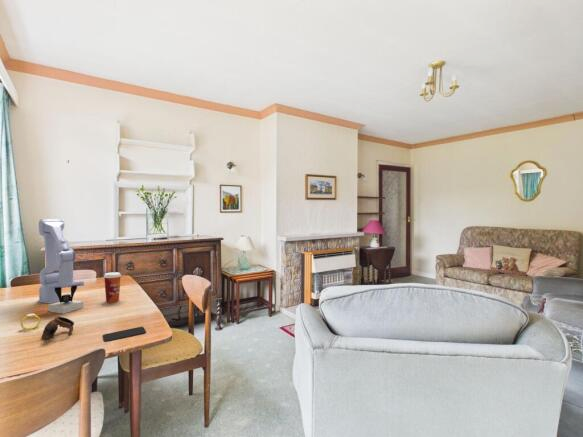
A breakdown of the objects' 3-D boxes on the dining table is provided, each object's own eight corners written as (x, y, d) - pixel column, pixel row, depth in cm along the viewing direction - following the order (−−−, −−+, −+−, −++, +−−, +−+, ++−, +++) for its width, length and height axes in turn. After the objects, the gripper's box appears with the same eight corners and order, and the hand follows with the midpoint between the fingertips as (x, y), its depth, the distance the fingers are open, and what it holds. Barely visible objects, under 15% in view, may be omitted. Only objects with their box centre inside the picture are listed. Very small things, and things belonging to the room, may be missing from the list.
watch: (39, 326, 131) (40, 312, 131) (39, 328, 129) (40, 314, 129) (20, 328, 127) (22, 314, 127) (20, 330, 125) (21, 316, 125)
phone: (102, 334, 123) (142, 326, 132) (102, 336, 123) (142, 327, 132) (104, 341, 117) (146, 332, 126) (104, 343, 117) (146, 334, 126)
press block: (48, 311, 148) (48, 305, 148) (68, 304, 158) (68, 299, 158) (63, 313, 145) (63, 307, 145) (83, 307, 155) (83, 301, 155)
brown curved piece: (46, 333, 125) (59, 314, 127) (68, 342, 126) (81, 323, 128) (29, 338, 113) (43, 316, 116) (54, 348, 114) (67, 327, 117)
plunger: (59, 309, 150) (59, 295, 150) (67, 307, 154) (67, 293, 154) (65, 310, 149) (65, 296, 149) (72, 308, 153) (72, 294, 153)
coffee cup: (113, 303, 161) (113, 275, 161) (100, 302, 163) (99, 274, 162) (124, 299, 169) (124, 272, 169) (112, 297, 171) (112, 271, 170)
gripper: (46, 277, 144) (46, 306, 144) (83, 274, 152) (83, 301, 152) (48, 274, 149) (48, 302, 150) (83, 272, 158) (83, 297, 158)
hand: (66, 301), depth 151 cm, fingers closed on plunger, 4 cm apart
